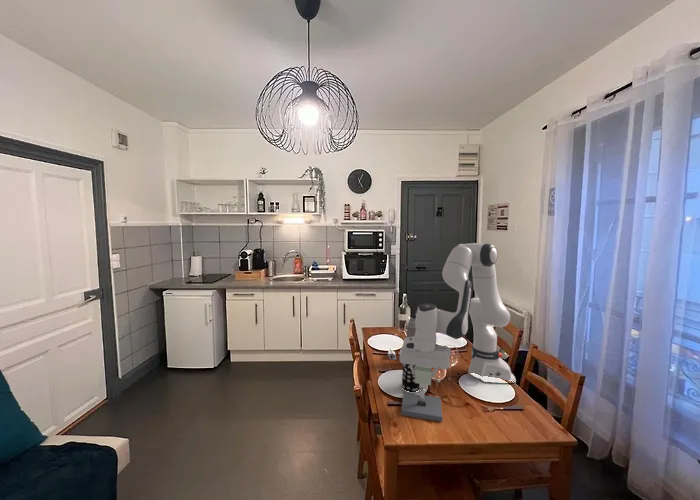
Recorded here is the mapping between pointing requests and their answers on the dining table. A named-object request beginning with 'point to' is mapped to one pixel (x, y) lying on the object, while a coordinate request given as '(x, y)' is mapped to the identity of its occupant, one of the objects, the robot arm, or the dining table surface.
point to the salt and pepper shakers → (392, 354)
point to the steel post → (422, 396)
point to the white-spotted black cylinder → (409, 379)
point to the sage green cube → (423, 375)
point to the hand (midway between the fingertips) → (423, 375)
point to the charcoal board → (421, 407)
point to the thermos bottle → (411, 326)
